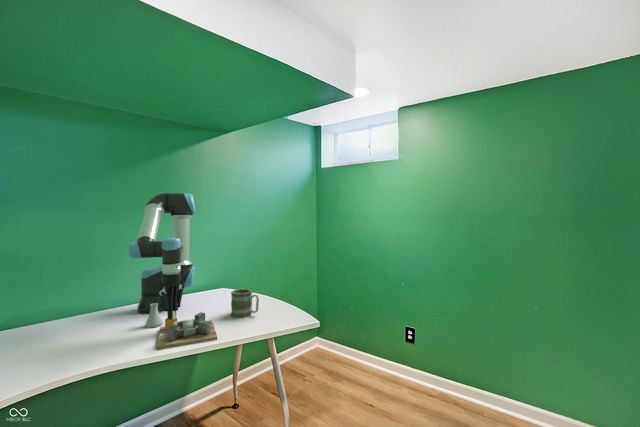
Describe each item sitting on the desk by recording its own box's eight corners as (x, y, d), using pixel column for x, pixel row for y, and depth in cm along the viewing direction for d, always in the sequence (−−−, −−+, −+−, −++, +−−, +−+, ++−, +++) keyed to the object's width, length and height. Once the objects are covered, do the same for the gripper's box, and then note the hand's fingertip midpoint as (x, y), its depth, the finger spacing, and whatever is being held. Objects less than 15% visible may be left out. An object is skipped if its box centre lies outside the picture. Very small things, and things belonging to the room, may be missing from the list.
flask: (155, 328, 136) (155, 306, 136) (141, 327, 138) (141, 305, 138) (166, 323, 143) (166, 302, 143) (153, 322, 145) (153, 301, 145)
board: (160, 329, 134) (160, 317, 134) (211, 322, 144) (211, 310, 144) (157, 349, 115) (157, 334, 115) (217, 339, 124) (217, 325, 124)
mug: (226, 316, 153) (226, 292, 153) (239, 310, 163) (239, 288, 163) (252, 320, 147) (252, 295, 147) (264, 313, 157) (264, 290, 157)
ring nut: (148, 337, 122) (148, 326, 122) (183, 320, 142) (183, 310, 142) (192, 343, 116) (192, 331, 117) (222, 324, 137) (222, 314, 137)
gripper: (166, 276, 126) (166, 332, 126) (189, 270, 138) (189, 321, 138) (152, 275, 128) (153, 329, 128) (176, 269, 140) (176, 319, 140)
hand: (172, 325), depth 133 cm, fingers closed
